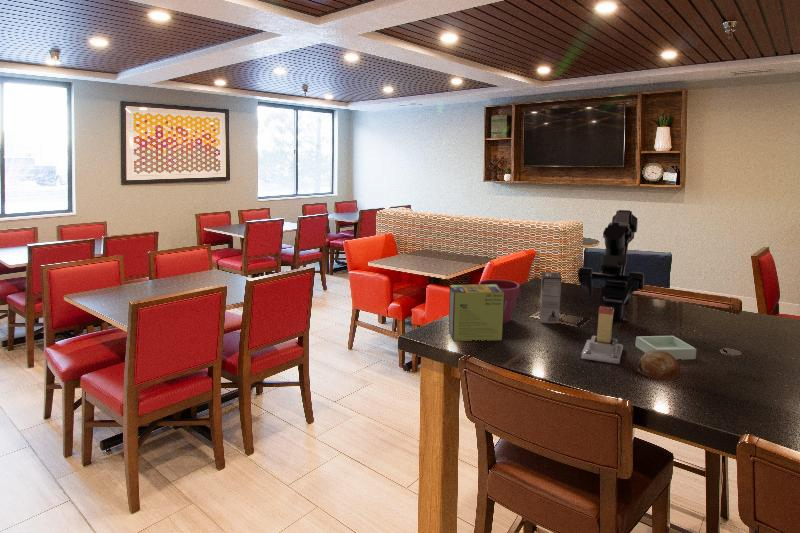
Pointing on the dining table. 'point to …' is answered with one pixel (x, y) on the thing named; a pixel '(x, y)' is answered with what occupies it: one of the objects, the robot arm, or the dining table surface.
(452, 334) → the protein box
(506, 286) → the plant pot
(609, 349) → the bracket
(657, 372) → the bread roll
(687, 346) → the tray
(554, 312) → the coffee box
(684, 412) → the dining table surface
